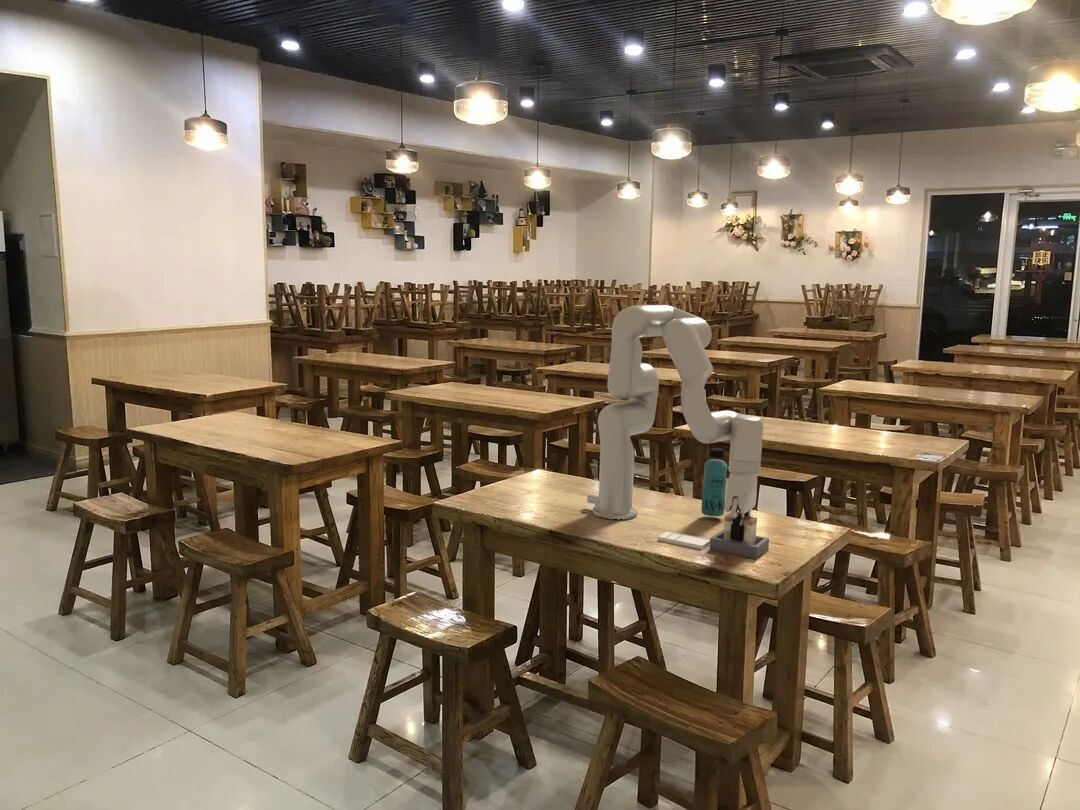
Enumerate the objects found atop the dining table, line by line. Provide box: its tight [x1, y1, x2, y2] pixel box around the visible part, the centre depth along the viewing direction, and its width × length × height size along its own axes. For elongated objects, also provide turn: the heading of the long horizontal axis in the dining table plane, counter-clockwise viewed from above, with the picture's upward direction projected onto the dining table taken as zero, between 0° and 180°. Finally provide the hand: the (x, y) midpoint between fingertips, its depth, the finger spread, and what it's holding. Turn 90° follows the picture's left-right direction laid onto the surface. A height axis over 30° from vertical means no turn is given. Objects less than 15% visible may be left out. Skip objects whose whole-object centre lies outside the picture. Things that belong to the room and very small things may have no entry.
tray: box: [709, 528, 770, 560], centre depth 212 cm, size 12×9×3 cm
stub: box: [723, 512, 758, 546], centre depth 212 cm, size 7×4×7 cm, turn 58°
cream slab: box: [657, 530, 710, 550], centre depth 218 cm, size 12×6×1 cm, turn 58°
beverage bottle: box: [700, 447, 728, 517], centre depth 238 cm, size 6×7×20 cm
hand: (739, 537), depth 212 cm, fingers closed on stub, 3 cm apart
